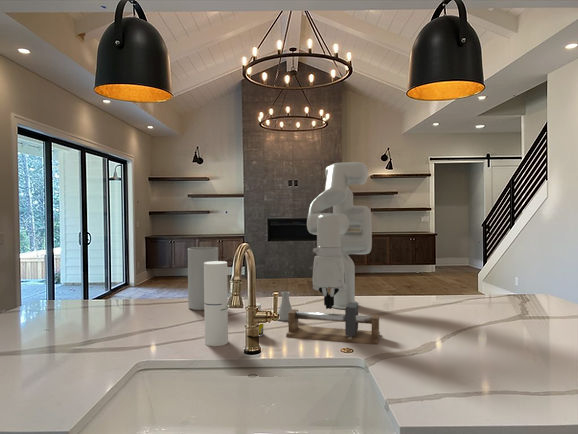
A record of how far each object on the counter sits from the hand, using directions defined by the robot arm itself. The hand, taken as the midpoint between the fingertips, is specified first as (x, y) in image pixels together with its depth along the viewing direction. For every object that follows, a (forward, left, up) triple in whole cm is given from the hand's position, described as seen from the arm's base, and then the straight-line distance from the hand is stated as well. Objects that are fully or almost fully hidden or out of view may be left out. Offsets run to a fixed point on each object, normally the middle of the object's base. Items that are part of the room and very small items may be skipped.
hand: (329, 307), depth 136 cm
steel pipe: (0, +1, -4) cm, 5 cm away
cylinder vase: (-25, -59, -9) cm, 64 cm away
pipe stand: (0, +1, -9) cm, 9 cm away
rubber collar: (0, +8, -7) cm, 10 cm away
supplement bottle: (+6, -24, -9) cm, 26 cm away
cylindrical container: (+16, -33, -9) cm, 38 cm away
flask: (-16, -20, -9) cm, 27 cm away
